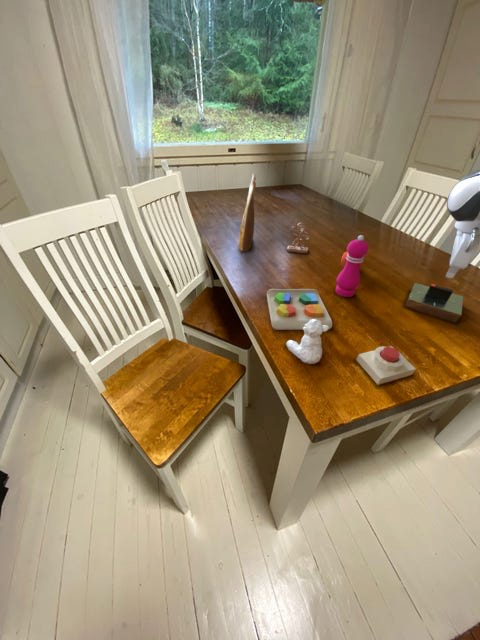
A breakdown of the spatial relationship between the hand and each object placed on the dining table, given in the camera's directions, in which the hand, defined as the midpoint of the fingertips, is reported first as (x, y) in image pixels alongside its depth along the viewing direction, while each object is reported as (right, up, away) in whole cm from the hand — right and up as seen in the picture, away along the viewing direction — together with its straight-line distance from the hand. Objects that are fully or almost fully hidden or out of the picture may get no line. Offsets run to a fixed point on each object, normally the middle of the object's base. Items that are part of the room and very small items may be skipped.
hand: (450, 270), depth 80 cm
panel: (0, -10, +8) cm, 13 cm away
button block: (-26, -26, -13) cm, 39 cm away
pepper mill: (-26, -5, +14) cm, 30 cm away
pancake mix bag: (-58, +19, +44) cm, 75 cm away
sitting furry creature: (-44, -24, -10) cm, 51 cm away
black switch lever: (0, -8, +6) cm, 10 cm away
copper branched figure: (-37, +16, +39) cm, 56 cm away
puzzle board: (-44, -12, +5) cm, 46 cm away
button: (-26, -23, -15) cm, 38 cm away
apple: (-19, +5, +27) cm, 33 cm away
